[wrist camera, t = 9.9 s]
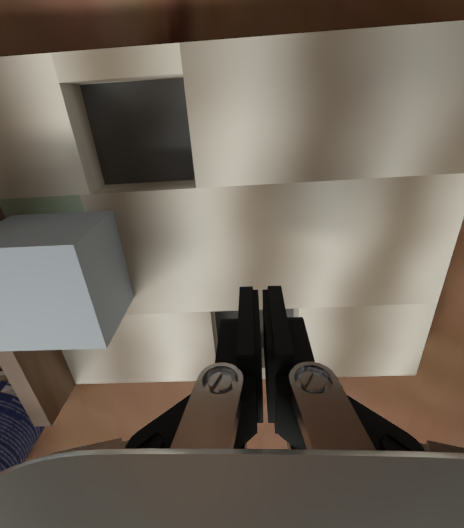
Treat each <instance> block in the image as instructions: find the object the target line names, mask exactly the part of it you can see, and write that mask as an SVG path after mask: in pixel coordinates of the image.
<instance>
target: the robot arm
mask: <svg viewBox="0 0 464 528" xmlns="http://www.w3.org/2000/svg"><path fill="white" fill-rule="evenodd" d="M262 296H263V345H264V362H265V378H266V394H267V410H268V423H274V424H275V433H278V434H279V435H280V436H281V437H282V438H283V439H285V440H286V441H287V447H288V449H247V442H248V441H249V440H250V439H251V438H252V437H253V436H254V435H255V434H256V433H257V423H263V390H262V352H261V333H260V314H259V296H258V290H253V286H246V287H240V288H239V307H238V318H228V319H221V322H220V329H219V336H218V343H217V351H216V358H215V364H211V365H209V366H207V367H205V368H204V369H203V370H202V371H201V372H200V374H199V376H198V378H197V380H196V383H195V385H194V388H193V390H192V393H191V394H190V395H189V396H187V397H186V398H185V399H183V400H182V401H180V402H179V403H177V404H176V405H175V406H173V407H172V408H170V409H169V410H168V411H166V412H165V413H163V414H162V415H160V416H159V417H158V418H156V419H155V420H153V421H152V422H151V423H149V424H148V425H146V426H145V427H144V428H142V429H141V430H139V431H138V432H137V433H136V434H135V435H133V436H132V437H131V438H130V440H128V441H124V442H122V439H121V438H119V439H114V440H109V441H105V442H100V443H95V444H91V445H86V446H81V447H77V448H72V449H67V450H63V451H58V452H55V453H52V454H50V455H47V456H43V457H39V458H35V459H32V460H29V461H26V462H24V463H21V464H18V465H15V466H12V467H10V468H8V469H6V470H3V471H1V472H0V528H464V448H462V447H457V446H452V445H447V444H443V443H438V442H433V441H428V440H427V442H426V444H422V443H419V442H418V441H417V440H416V439H415V438H414V437H412V436H411V435H410V434H408V433H407V432H405V431H404V430H402V429H400V428H399V427H397V426H396V425H394V424H392V423H391V422H389V421H388V420H386V419H384V418H383V417H381V416H380V415H378V414H376V413H375V412H373V411H372V410H370V409H368V408H367V407H365V406H364V405H362V404H360V403H359V402H357V401H356V400H354V399H352V398H351V397H349V396H347V395H346V393H345V391H344V389H343V388H342V386H341V384H340V382H339V380H338V378H337V376H336V375H335V374H334V372H333V371H332V370H331V369H330V368H328V367H327V366H325V365H323V364H320V363H316V362H315V360H314V356H313V353H312V349H311V345H310V341H309V338H308V334H307V330H306V326H305V323H304V319H303V317H287V314H286V309H285V303H284V298H283V293H282V288H281V286H268V287H267V289H265V290H262Z"/></svg>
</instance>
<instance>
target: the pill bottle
mask: <svg viewBox="0 0 464 528" xmlns="http://www.w3.org/2000/svg"><path fill="white" fill-rule="evenodd" d="M44 428H45V426H39V427H35V426H34V425H33V423H32V421H31V419H30V418H29V416H28V414H27V412H26V410H25V409H24V407H23V405H22V403H21V402H20V400H19V398H18V396H17V395H16V393H15V391H14V389H13V387H12V386H11V384H10V382H9V380H8V379H7V377H6V375H5V373H4V372H3V371H0V472H1V471H3V470H6V469H8V468H10V467H12V466H15V465H18V464H21V463H24V461H25V459H26V458H27V456H28V454H29V453H30V451H31V449H32V447H33V446H34V444H35V443H36V441H37V439H38V438H39V436H40V434H41V433H42V431H43V429H44Z"/></svg>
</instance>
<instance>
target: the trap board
mask: <svg viewBox="0 0 464 528" xmlns="http://www.w3.org/2000/svg"><path fill="white" fill-rule="evenodd" d="M112 210H113V212H114V216H115V220H116V224H117V229H118V233H119V237H120V241H121V245H122V249H123V253H124V257H125V261H126V265H127V270H128V274H129V278H130V282H131V286H132V290H133V294H134V299H133V301H132V303H131V304H130V306H129V308H128V310H127V312H126V314H125V316H124V317H123V319H122V321H121V323H120V325H119V327H118V329H117V330H116V332H115V334H114V336H113V338H112V340H111V342H110V344H109V345H108V347H107V349H72V350H36V351H0V366H1V368H2V370H3V372H4V373H5V375H6V377H7V379H8V380H9V382H10V384H11V386H12V387H13V389H14V391H15V393H16V395H17V396H18V398H19V400H20V402H21V403H22V405H23V407H24V409H25V410H26V412H27V414H28V416H29V418H30V419H31V421H32V423H33V425H34V426H35V427H39V426H52V424H53V423H54V421H55V419H56V417H57V416H58V414H59V412H60V410H61V409H62V407H63V405H64V404H65V402H66V400H67V398H68V397H69V395H70V393H71V391H72V390H73V388H74V386H75V385H76V384H97V383H134V382H172V381H196V380H197V378H198V376H199V374H200V372H201V371H202V370H203V369H204V368H205V367H207V366H209V365H211V364H215V358H216V351H217V343H218V336H219V329H220V322H221V319H228V318H238V307H239V288H240V287H246V286H253V290H258V296H259V314H260V333H261V352H262V379H266V378H265V362H264V345H263V296H262V290H265V289H267V287H268V286H281V288H282V293H283V298H284V303H285V309H286V314H287V317H303V319H304V323H305V326H306V330H307V334H308V338H309V341H310V345H311V349H312V353H313V356H314V360H315V362H316V363H320V364H323V365H325V366H327V367H328V368H330V369H331V370H332V371H333V372H334V374H335V375H336V376H337V377H361V376H399V375H416V372H417V369H418V366H419V363H420V359H421V356H422V353H423V349H424V346H425V343H426V340H427V336H428V333H429V330H430V326H431V323H432V320H433V317H434V313H435V310H436V307H437V303H438V300H439V297H440V294H441V290H442V287H443V284H444V280H445V277H446V274H447V270H448V267H449V264H450V261H451V257H452V254H453V251H454V247H455V244H456V241H457V238H458V234H459V231H460V228H461V224H462V221H463V218H464V20H461V21H448V22H435V23H423V24H410V25H397V26H384V27H372V28H359V29H346V30H333V31H321V32H308V33H295V34H283V35H270V36H257V37H244V38H232V39H219V40H206V41H194V42H181V43H168V44H155V45H143V46H130V47H117V48H104V49H92V50H79V51H66V52H54V53H41V54H28V55H15V56H3V57H0V221H2V220H4V219H6V218H8V217H10V216H12V215H28V214H49V213H70V212H91V211H112Z"/></svg>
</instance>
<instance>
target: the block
mask: <svg viewBox="0 0 464 528" xmlns="http://www.w3.org/2000/svg"><path fill="white" fill-rule="evenodd" d="M133 299H134V294H133V290H132V286H131V282H130V278H129V274H128V270H127V265H126V261H125V257H124V253H123V249H122V245H121V241H120V237H119V233H118V229H117V224H116V220H115V216H114V212H113V210H112V211H91V212H70V213H49V214H28V215H12V216H10V217H8V218H6V219H4V220H2V221H0V351H36V350H72V349H107V347H108V345H109V344H110V342H111V340H112V338H113V336H114V334H115V332H116V330H117V329H118V327H119V325H120V323H121V321H122V319H123V317H124V316H125V314H126V312H127V310H128V308H129V306H130V304H131V303H132V301H133Z"/></svg>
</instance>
